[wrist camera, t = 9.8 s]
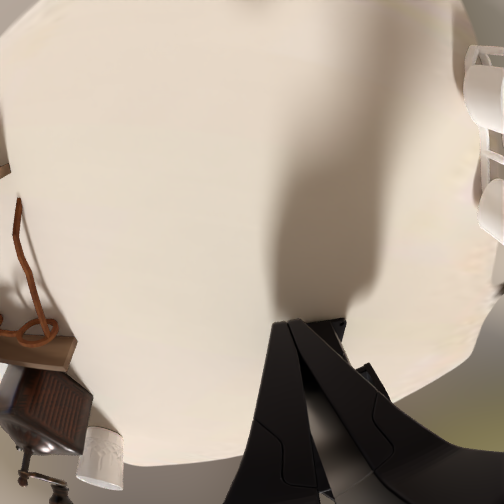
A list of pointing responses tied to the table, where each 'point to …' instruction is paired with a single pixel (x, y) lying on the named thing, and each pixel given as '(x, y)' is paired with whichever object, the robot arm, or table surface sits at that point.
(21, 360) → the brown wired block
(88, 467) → the white cup
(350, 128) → the table surface
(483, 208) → the toilet paper holder
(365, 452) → the robot arm
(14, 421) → the coffee grinder
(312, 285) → the table surface
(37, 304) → the glasses
